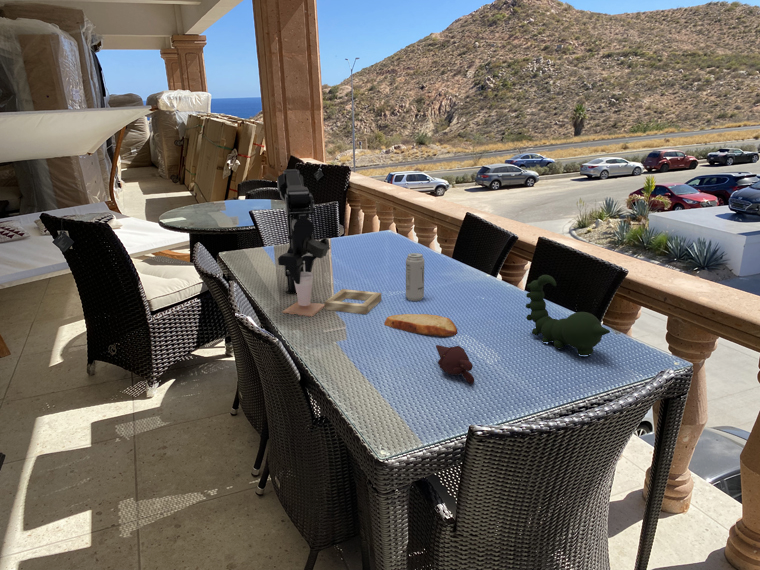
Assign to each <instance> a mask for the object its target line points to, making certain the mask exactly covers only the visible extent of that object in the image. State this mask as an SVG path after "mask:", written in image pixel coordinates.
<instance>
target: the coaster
mask: <svg viewBox="0 0 760 570" xmlns="http://www.w3.org/2000/svg"><path fill="white" fill-rule="evenodd" d="M323 309H325V305H324V303H318V302H316V303H315V302H311V303H310V305H307V306H300V305H299V304H298V301H296V302H295V303H293V304H292V305H290V306H289V307H287V308H285V309H284V310H282V314H286V313H289V314H288V315H294V314H298V315H297V316H302V315H305V316H304V317H310V316H311V317H310V318H312V317H313V316H315V315H317V314H318V313H319V312H320V311H321V310H323Z"/></svg>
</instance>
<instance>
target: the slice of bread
mask: <svg viewBox="0 0 760 570" xmlns="http://www.w3.org/2000/svg"><path fill="white" fill-rule="evenodd" d="M383 324H384V326H386V327H389V328H392V329H396V330H399V331H404V332H408V333H413V334H418V335H423V336H431V337H433V336H434V337H440V338H441V337H443V338H445V337H446V338H447V337H448V336H450V337H455V336H454V335H456V334H457V335H458V332H457V330H458V328H457V326H456V324H455V323H454V321H452V320H451V319H450V318H449V317H446V316H441V315H435V314H426V313H421V314H420V313H419V314H418V313H417V314H416V313H415V314H414V313H405V314H404V313H403V314H393V315H389V316H387V317H386V319H385V321H384V322H383ZM457 335H456V336H457Z"/></svg>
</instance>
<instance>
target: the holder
mask: <svg viewBox="0 0 760 570" xmlns="http://www.w3.org/2000/svg"><path fill="white" fill-rule="evenodd" d="M346 299H349V300H358V301H364V302H363V303H356V302H346V301H344V300H346ZM381 301H382V292H376V291H365V290H357V289H355V290H354V289H346V288H342V289H340V290H339V291H338V292H336V293H334V294H333V295H332V296H331V297H329V298H328V299H326V300H325V301H324V303H323V304H324V305H325V307H324V310H326V311H333V312H342V313H343V312H344V313H351V314H357V315H359V314H360V315H367V314H368V313H369V312H371V311H372V309H373V308H375V307H377V305H378V304H379V303H380V302H381Z"/></svg>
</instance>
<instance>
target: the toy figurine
mask: <svg viewBox="0 0 760 570" xmlns="http://www.w3.org/2000/svg"><path fill="white" fill-rule="evenodd" d="M548 283H549V284H551V285H552V286H553V287H556V286H557V282H556V280H555V278H554V277H553V276H551V275H549V274H542V275H540V276H539V277H538V278H537V279H534V280H532V281H531V282H530V283H527V285H526V286H527V288H528V289H529V290H530V292H527V293H526V294H525V297H526V298H527V299H530V301H529V302H528V303H526V304H525V308H526V309H530V314H526V320H527V321H529V322H531V321H532V322H534V326H535V328H533V329H531V333H532V334H533V335H534V336H539V335H540V334H541V335H542V338H541V342H542V341H543V342H549V343H551V342H550V341H553V342H552V343H553V346H554V347H555V348H556V347H557V348H556V349H558V348H560V349H562V348H564V347H565V346H570V347H571V348H573V349H576V350H577V351H576V353H577V354H580V355H589V354H591V355H592V354H594V348H595V347H596V346H597V345H598V344H599V343H601V342H602V337H603V336H605V335H608V334H610V333H611V331H610V329H608V328H605V327H603V326H602V323H601V321H600V320H599V319H598V318H597V316H595V315H594V314H592V313H591V312H586V311H578V312H574V313H572V314H570V315H569V316H568V317H566V318H564V317H563V318H560V319H557V318H552V317H551V316H550V315H549V311H548V310H547V309H546V308H547V307H546V306H547V304H546V301H545V300H544V299H545V292H544V291H543V288H544V286H545V285H546V284H548ZM543 342H542V343H543Z"/></svg>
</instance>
